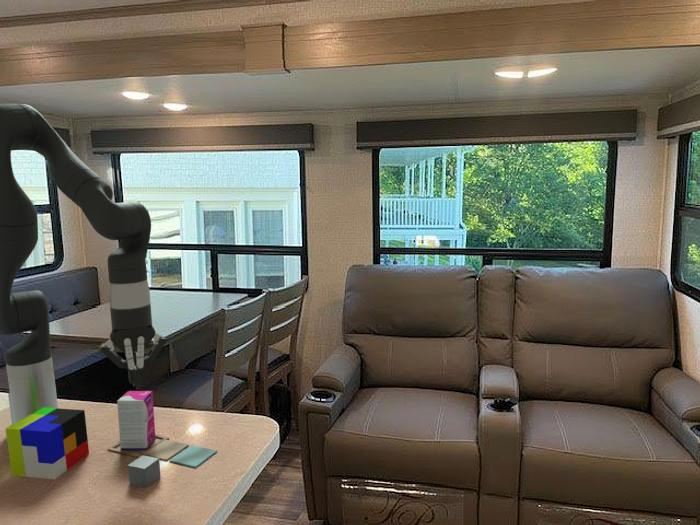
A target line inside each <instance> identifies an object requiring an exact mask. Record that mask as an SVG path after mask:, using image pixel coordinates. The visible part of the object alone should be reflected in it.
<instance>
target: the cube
mask: <svg viewBox="0 0 700 525" xmlns="http://www.w3.org/2000/svg"><path fill="white" fill-rule="evenodd" d="M127 471H128V472H127V473H128V481H129V485H130V486H135V487H139V488H144V489H148V487H150V486H151V485H152V484H154V483H155V482H156V481H158V480H159V479H160V478H161V465H160V459H159V458H154V457H149V456H144V455H142V456H141V457H139V458H138V457H137V458H136V459H135V460H133V461H132V462H131V463H129V464H127Z"/></svg>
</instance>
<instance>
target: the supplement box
mask: <svg viewBox="0 0 700 525" xmlns="http://www.w3.org/2000/svg"><path fill="white" fill-rule="evenodd" d="M153 392H154V391H153V390H128V391H126V393H124V394H123V395H122V396H121V397H120V398H119V399H117V400H116V403H117V418H118V428H119V430H118V432H119V442H120V445H119V446H120V450H123V451H127V452H130V451H145V450H146V449H148V448H149V447H150V445H151V444H152V442H153V441H154V440H155V439H156V437H155V434H156V426H155V425H156V424H155V412H154V411H155V409H154V394H153Z"/></svg>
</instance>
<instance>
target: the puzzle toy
mask: <svg viewBox="0 0 700 525" xmlns="http://www.w3.org/2000/svg"><path fill="white" fill-rule="evenodd" d="M85 412H86V411H85V410H84V409H73V408H59V407H58V408H45V407H44V408H42V409H40V410H38V411H36V412H35V413H33V414H31V415H29V416H27V417H26V418H24V419H22V420H20V421H18V422H16V423H15V424H13V425H12V424H11V425H9V426H7V427H6V428H5V435H6V442H7V450H8V459H9V464H10V465H9V466H10V474H11V475H12V476H17V477H28V478H37V479H46V480H47V479H48V480H56V479H58V478H59V477H60V476H62V475H63V474H64V473H65V472H67V471H68V470H69V469H71V468H73V466H75V465H77V464H78V463H79V462H80V461H82V460H83V459H84V458H85V456H86V457H87V456H88V455H90V449H89V447H90V446H89V441H88V440H89V439H88V429H87V421H86V413H85ZM82 458H83V459H82ZM81 459H82V460H81ZM78 461H79V462H78ZM77 462H78V463H77ZM74 464H75V465H74ZM70 467H71V468H70Z"/></svg>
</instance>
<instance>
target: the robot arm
mask: <svg viewBox="0 0 700 525" xmlns="http://www.w3.org/2000/svg"><path fill="white" fill-rule="evenodd" d="M22 150H23V151H25V150H33V151H34V152H36V153H38V154H39V155H40V156H42V157H43V158H44V159H46V161H47V162H48V165H49V168H50V173H51V177H52V179H53V183H54V184H55V186H57V188H58V189H59V190H60V192H62V194H64V196H66V197H67V198H68V199H69V200H70V201H72V203H74V204H75V205H76V206H78V207H79V208H80V210H81V211H82V212H83V214H84V216H85V218H86V219H87V220H88V222H89V223H90V225H91V227H92V228H93V229H94V231H95V232H96V233H97V234H99V235H100V236H101V237H103V238H106V239H107V240H110V241H120V242H119V245H118V248H117V249H116V250H115V251H112V252H111V253H110V254H109V255H108V256H107V270H108V271H107V273H108V282H109V288H108V298H109V299H108V303H109V310H110V321H111V323H110V324H111V332H110V335H109V338H108V340H107V341H105V342H103V343H101V344H100V346H99V349H100V352H101V353H102V354H103V355H104V356H105V357H106V358H108V359H109V361H111V362H112V363H114V365H115V366H117V367H118V368H119V369H126V370H127V373H128V381H129V384H130V385H133V388H134V387H140V386H142V383H144V381H145V371H144V368H145V366H147V365H151V364H153V362H154V361H155V359H156V357H157V356H158V355H159V353H160V352H161V350H162V349H163V348H164V347H165V345H166V343H167V338H166V336H164V334H163V335H160V334H158V333H157V332H156V330H155V328H154V326H153V319H152V306H151V304H152V302H151V294H150V286H149V282H148V272H147V254H148V250H149V244H150V239H151V233H152V232H151V231H152V220H151V215H150V213H149V211H148V209H147V208H146V206H145V205H143V204H142V203H140V202H138V201H126V202H125V201H124V202H114V201H112V199H113V196H114V193H113V192H114V191H113V189H112V187H111V186H110V185H109V183H108V182H106V180H104V179H103V178H102V177H101V176H99V175H98V174H97V173H96V172H95V171H94V170H92V169H91V168H89V166H88V165H86V163H84V161H82V160H81V159H80V157H78V156H77V155H76V154H75V153H74V152H73V150H72V149H71V148H70V147H69V146H68V145H67V143H66V142H65V141H64V139H62V137H61V136H60V135H59V133H58V132H57V131H56V130H55V129H54V128H53V127H52V126H51V125H50V123H49V122H48V121H47V120H46V118H45V117H44V116H43V115H42V114H41V113H40V112H39V111H38V110H37V109H36V108H34V107H33V106H31V105H29V104H25V103H18V102H17V103H16V102H15V103H12V102H11V103H10V102H9V103H0V336H9V335H15V334H21V333H27V332H30V333H29V335H28V336H26V337H25V338H24V339H23V340H22V341H21V342H19V343H17V344H15V345H13V346H11V347H10V348H8V349H7V350H6V351H5V355H4V358H5V360H4V361H5V365H6V373H7V381H8V388H9V392H8V395H7V396H8V397H7V398H8V402H9V403H8V404H9V409H10V410H9V411H10V418H11V419H10V420H11V425H13V424H15V423H16V422H18V421H20V420H22V419H24V418H26V417H27V416H29V415H31V414H33V413H35V412H36V411H38V410H40V409H42V408H44V407H45V408H59V407H58V398H57V395H58V394H57V387H56V381H55V380H56V379H55V372H54V364H53V357H52V356H53V355H52V342H51V332H50V314H49V313H50V312H49V305H48V304H49V303H48V300H47V297H46V295H45V294H44V292H43V291H41V290H36V289H35V290H34V289H33V290H28V291H27V290H26V291H20V292H19V291H18V292H12V290H13V284H14V281H15V280H16V277H17V275H18V273H19V272H20V270H21V268H22V267H23V265H24V264H25V263H26V262H27V260H28V259H29V258H30V255H31V254H32V252H33V251H34V250H35V248H36V246H37V243H38V241H39V223H38V222H39V221H38V212H37V209H36V207H35V205H34V204H33V202H32V200H31V199H30V197H29V196H28V195H27V193H26V192H25V190H23V188H22V187H21V185H20V184H19V183H18V181H17V179H16V178H15V174H14V170H13V165H12V151H22ZM151 343H153V345H152V347H151V348H150V349H149V351H148V352H147V354H146V355H145V350H146V349H147V348H148V346H149V345H150V344H151ZM114 345H115V346H116V348H117V349H119V350H120V352H122V353H125V357H126V359H123V357H121V356H120V355H119V354H117V353H116V351H114V350H115V347H114ZM133 353H135V356H136V358H135V359H134V354H133ZM135 360H136V362H135ZM135 364H136V365H135Z"/></svg>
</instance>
